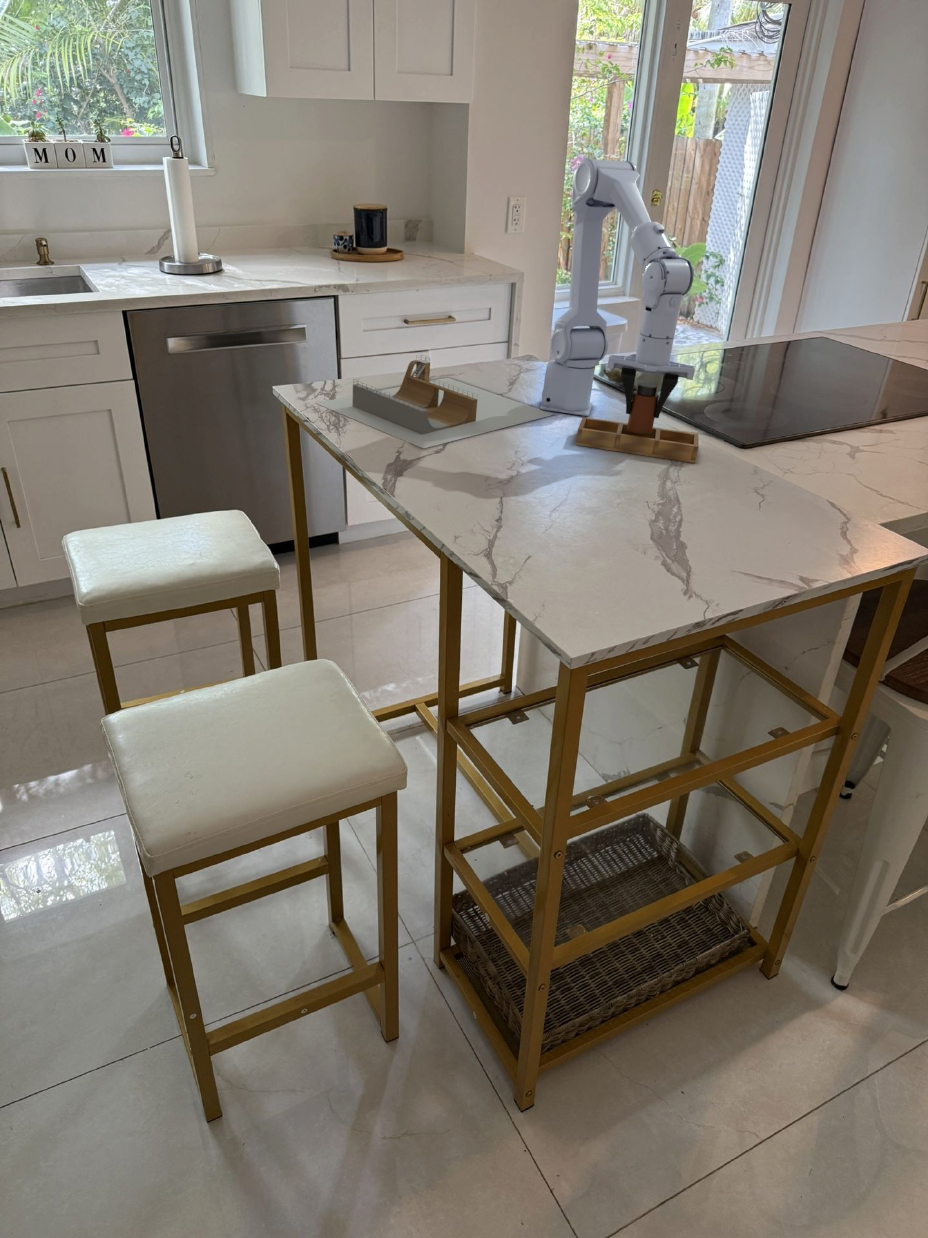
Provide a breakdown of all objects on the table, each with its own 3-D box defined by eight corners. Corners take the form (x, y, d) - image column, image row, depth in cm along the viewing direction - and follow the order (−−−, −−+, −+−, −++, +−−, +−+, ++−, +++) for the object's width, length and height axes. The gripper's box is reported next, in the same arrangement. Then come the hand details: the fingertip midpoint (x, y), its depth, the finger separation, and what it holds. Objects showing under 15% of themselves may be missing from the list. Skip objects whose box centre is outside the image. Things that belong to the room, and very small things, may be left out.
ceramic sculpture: (640, 356, 180) (604, 343, 192) (634, 399, 184) (598, 383, 196) (684, 356, 183) (645, 343, 196) (677, 398, 187) (639, 382, 200)
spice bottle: (626, 431, 154) (634, 386, 150) (627, 424, 158) (635, 380, 154) (651, 435, 153) (660, 389, 149) (652, 428, 157) (661, 383, 153)
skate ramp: (315, 402, 164) (315, 362, 161) (447, 377, 187) (450, 341, 183) (423, 448, 148) (426, 404, 144) (554, 414, 170) (559, 375, 167)
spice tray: (575, 444, 156) (577, 428, 154) (580, 432, 162) (582, 416, 161) (695, 463, 153) (698, 446, 151) (694, 449, 159) (698, 433, 157)
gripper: (611, 334, 145) (598, 414, 152) (700, 345, 143) (683, 426, 150) (615, 325, 151) (602, 403, 158) (700, 336, 149) (684, 415, 156)
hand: (642, 414), depth 154 cm, fingers closed on spice bottle, 4 cm apart
